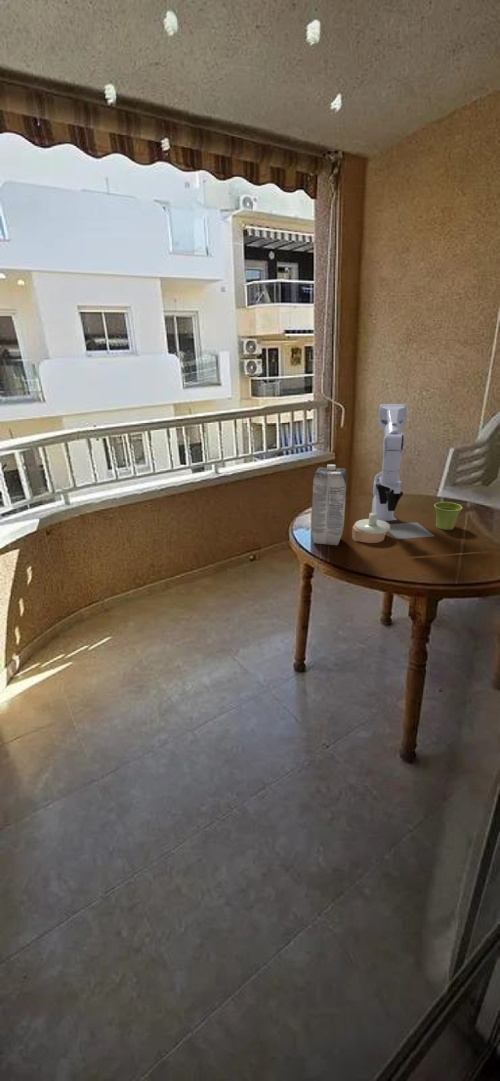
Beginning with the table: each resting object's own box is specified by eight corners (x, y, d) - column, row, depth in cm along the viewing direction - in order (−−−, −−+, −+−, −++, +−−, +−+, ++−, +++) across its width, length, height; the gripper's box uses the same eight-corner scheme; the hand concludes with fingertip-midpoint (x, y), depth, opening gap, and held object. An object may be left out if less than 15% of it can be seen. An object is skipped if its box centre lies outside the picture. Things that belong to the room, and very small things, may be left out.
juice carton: (340, 547, 149) (344, 470, 139) (310, 544, 152) (312, 468, 142) (343, 537, 157) (348, 463, 146) (314, 534, 160) (317, 462, 149)
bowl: (348, 533, 161) (348, 523, 159) (377, 531, 162) (378, 521, 160) (358, 545, 151) (359, 534, 149) (389, 542, 152) (390, 532, 150)
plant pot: (461, 533, 157) (465, 510, 154) (433, 532, 159) (436, 509, 156) (455, 524, 166) (459, 502, 162) (429, 523, 168) (432, 501, 164)
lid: (351, 522, 160) (351, 509, 158) (383, 520, 160) (384, 507, 158) (360, 534, 149) (361, 521, 147) (394, 533, 149) (396, 519, 147)
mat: (381, 526, 166) (381, 524, 166) (416, 523, 167) (416, 522, 167) (396, 540, 153) (397, 538, 153) (434, 537, 154) (435, 536, 154)
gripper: (411, 474, 143) (406, 513, 149) (393, 464, 157) (390, 500, 162) (390, 475, 143) (386, 514, 148) (374, 465, 156) (371, 501, 161)
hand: (387, 507), depth 155 cm, fingers open, 7 cm apart
